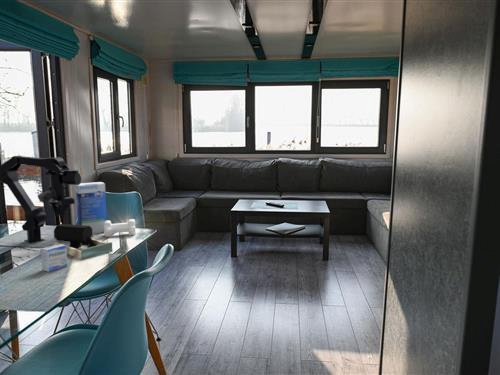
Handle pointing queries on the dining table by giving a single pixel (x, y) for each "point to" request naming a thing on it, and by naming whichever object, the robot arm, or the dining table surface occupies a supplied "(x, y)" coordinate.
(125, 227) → the bone shaped toy
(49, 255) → the medicine box
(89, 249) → the charging rails
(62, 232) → the security camera
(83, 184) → the string lights box
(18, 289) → the dining table surface
